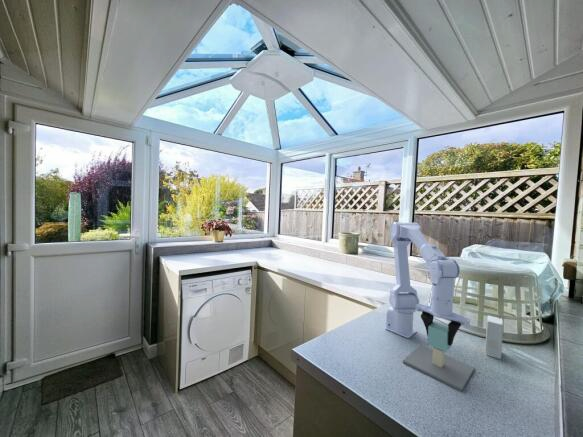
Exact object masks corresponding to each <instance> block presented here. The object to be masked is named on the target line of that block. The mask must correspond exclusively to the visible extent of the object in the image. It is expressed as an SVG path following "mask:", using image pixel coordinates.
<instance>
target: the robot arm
mask: <svg viewBox="0 0 583 437" xmlns="http://www.w3.org/2000/svg"><path fill="white" fill-rule="evenodd" d="M389 234H390V237H389V238H390V243H392V244H393V253H394V268H395V278H396V279H395V282H396V284H395V285H394V286H393V287H392V288H390V290H389V291H390V293H389V304H390V306H388V308H387V311H386V318H385V320H386V323H385V327H384V329H385V330H387V331H389V332H392V333H393V334H396V335H398V336H402V337H404V338H405V339H410V338H411V337H412V336H413V335H415V334H416V333H417V332H418V331H417V329H416V330H415V328H414V313H416V312H421V314H420V318H421V320H422V323H423V325H424V327H425V331H426V337H427V338H428V327H429V325H430V324H431V323H433V322H434V317H435V318H439V319H443V320H446V321H450V322H449V323H447V325H448V329H449V337H448V345H450V346H451V345H453V344H454V339H455V337H456V334H457V332H458V330H459V329H460V328H461V327H462V326H463V327H465V328H469V327H470V325H471V318H467V317H465V316H463V315H460V314H457V313H456V312H453V310H454V309H453V305H454V293H455V292H454V290H455V279H457V278H458V277H459V276H460V273H461V272H460V271H461V269H460V265H459V263H458V262H457V261H456V260H455V259H454V258H449V257H447V256H446V255H445V254H444V253H443V252H442V251H441V250H440V249H439V248H438V246H437V245H436V244H434V243H429V242H428V240H427V238H425V236H424V235H423V233H422V227H421V225H419V223H417V222H397V221H393V222H392V224H391V226H390V228H389ZM412 243H413V244H414V245H415V246H416V247H417V248H418V249H419V255H420V257H421V258H422V259H423V260H424V261H425V263H426V265H427V266H428V272H429V274H430V281H431V283H432V284H431V298H430V299H431V301H430V302H431V304H430V305H426V304H420V298H419V296H418V291H417V289H416V288H414V287H413V286H412V285H411V278H410V277H411V276H410V267H409V255H408V254H409V253H408V246H409V244H412ZM451 347H452V346H451Z"/></svg>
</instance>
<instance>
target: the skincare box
mask: <svg viewBox="0 0 583 437" xmlns="http://www.w3.org/2000/svg"><path fill="white" fill-rule="evenodd" d="M486 318H487V319H486V331H485V332H486V333H485V352H484V353H485V355H486V356H489V357H492V358H495V359H499V360H502V350H503V348H502V346H503V331H504V330H503V329H504V321H503V318H499V317H496V316H493V315H492V316H491V315H487V316H486Z"/></svg>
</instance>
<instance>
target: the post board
mask: <svg viewBox="0 0 583 437" xmlns="http://www.w3.org/2000/svg"><path fill="white" fill-rule="evenodd" d="M402 363H403V364H405V365H407V366H409V367H411V368H413V369H415V370H416V371H418V372H420V373H423V374H425V375H427V376H429V377H430V378H433V379H434V380H435V379H436V380H437V381H439V382H441V383H443V384H446V385H447V386H450V387H451V388H453V389H455V390H457V391H459V392H461V393H462V392H463V390H464V389H465V387H466V386H467V384H468V382H469V380H470V379H471V377H472V375H473V373H474V372H475V370H476V369H475V367H474V366H472V365H469V364H467V363H465V362H463V361H461V360H457V359H455V358H452V357H451V356H449V355H446V352H445V351H443V350H440V349H438V348H435V347H433V346H432V349H431V348H429V347H426V346H424V345H422V344H419V345H418V346H417V347H416V348H415V349H414V350H413V351H411V352H410V353H409V354H408V355H407V356H406V357H405V358H404V359H403V360H402Z"/></svg>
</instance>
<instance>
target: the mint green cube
mask: <svg viewBox="0 0 583 437" xmlns="http://www.w3.org/2000/svg"><path fill="white" fill-rule="evenodd" d="M448 337H449V329H448V324H445V323H442V322H438V321H436V320H433V323H431V324H430V325H429V327H428V337H427V345H428V346H430V347H432V348H433V347H435V348H438V349H440V350H443V351H445V353H447V352H448V351H449V349H450V348H451V347H452V345H453V344H452V345H451V346H450V345H448Z"/></svg>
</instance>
